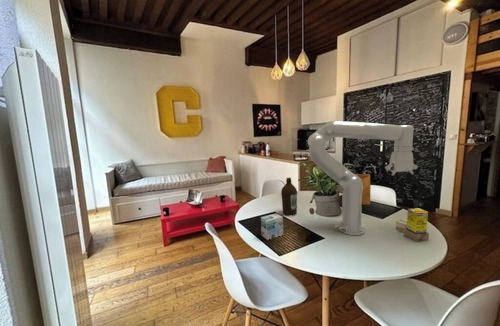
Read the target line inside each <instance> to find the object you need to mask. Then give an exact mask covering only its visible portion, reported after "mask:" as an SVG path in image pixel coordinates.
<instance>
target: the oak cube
mask: <svg viewBox="0 0 500 326" xmlns="http://www.w3.org/2000/svg"><path fill="white" fill-rule="evenodd" d="M406 227H407V219H402V218H401V219H398V220H395V231H399V232H401V233H403V234H404V229H406Z"/></svg>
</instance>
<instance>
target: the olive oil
mask: <svg viewBox="0 0 500 326" xmlns="http://www.w3.org/2000/svg"><path fill="white" fill-rule="evenodd" d="M285 179H286V180H285V185H284V186H283V187H282V188H281V191H280V192H281V193H280V195H281V204H282V205H281V206H282V215H284V214H285V215H284V216H286V215H294V216H296V215H297V214H298V212H297V211H298V204H297V203H298V190H297V187H296V186H294V184H293V183H292V178H291V177H286V178H285ZM295 214H296V215H295Z"/></svg>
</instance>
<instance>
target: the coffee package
mask: <svg viewBox="0 0 500 326" xmlns="http://www.w3.org/2000/svg"><path fill="white" fill-rule="evenodd" d="M354 174H355V175H357V176H358V177H359V178H360V179H361V180H362V182H363V191H362V201H361V206H363V205H364V206H365V205H371V189H372V188H371V186H372V185H371V174H370V173H367V174H357V173H354Z"/></svg>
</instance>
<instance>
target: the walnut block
mask: <svg viewBox="0 0 500 326" xmlns="http://www.w3.org/2000/svg"><path fill="white" fill-rule="evenodd" d="M429 234H430V232H428V231H427V232H426V233H420V234H415V233H413V232H411V231H409V230H408V229H404V233H403V236H404V237H405V238H407V239H409V240H411V241H413V242H415V243H421V242H425V241H426V242H427V241H429V236H430V235H429Z"/></svg>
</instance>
